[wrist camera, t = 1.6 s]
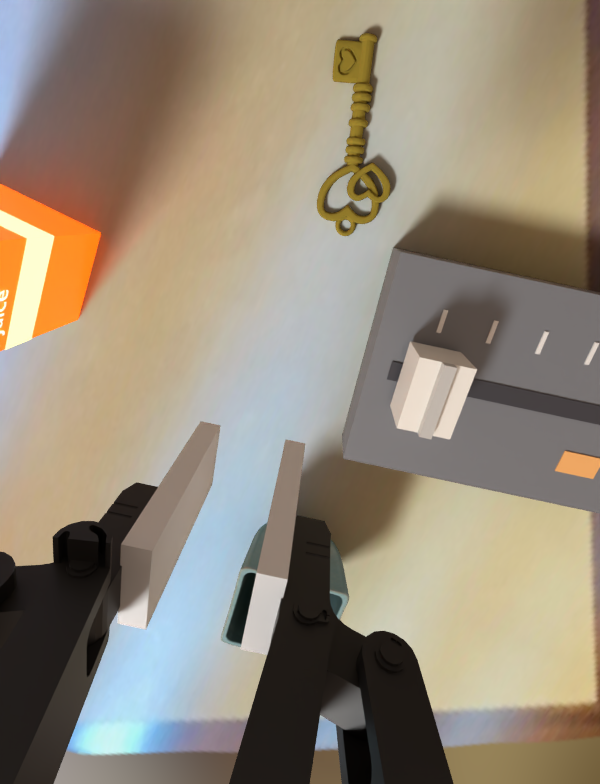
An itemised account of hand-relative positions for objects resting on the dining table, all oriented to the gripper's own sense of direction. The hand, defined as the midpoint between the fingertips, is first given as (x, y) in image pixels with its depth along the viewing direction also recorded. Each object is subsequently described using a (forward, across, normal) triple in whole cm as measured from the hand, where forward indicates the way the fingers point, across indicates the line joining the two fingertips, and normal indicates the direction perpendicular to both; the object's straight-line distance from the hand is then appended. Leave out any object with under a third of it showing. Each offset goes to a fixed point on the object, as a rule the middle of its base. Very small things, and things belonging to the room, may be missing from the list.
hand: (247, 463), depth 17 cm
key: (+20, +2, +14) cm, 25 cm away
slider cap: (+15, +10, 0) cm, 18 cm away
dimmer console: (+20, +17, 0) cm, 26 cm away
